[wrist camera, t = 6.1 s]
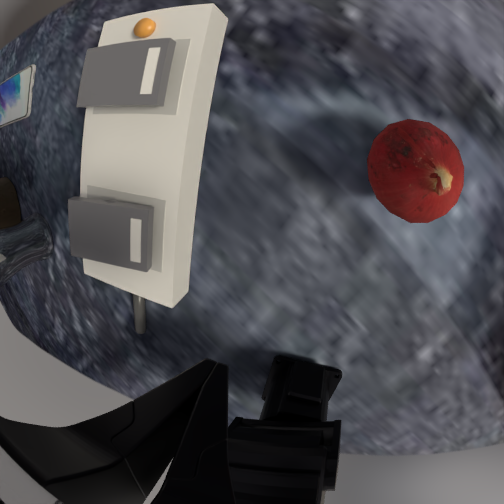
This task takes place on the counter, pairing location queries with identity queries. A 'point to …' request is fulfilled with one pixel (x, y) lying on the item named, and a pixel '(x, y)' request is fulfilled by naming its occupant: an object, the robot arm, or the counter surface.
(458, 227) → the counter surface
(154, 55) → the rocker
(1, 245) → the beer glass
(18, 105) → the smartphone
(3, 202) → the pillar candle
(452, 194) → the onion
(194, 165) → the power strip
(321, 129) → the counter surface
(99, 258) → the rocker
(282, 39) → the counter surface
